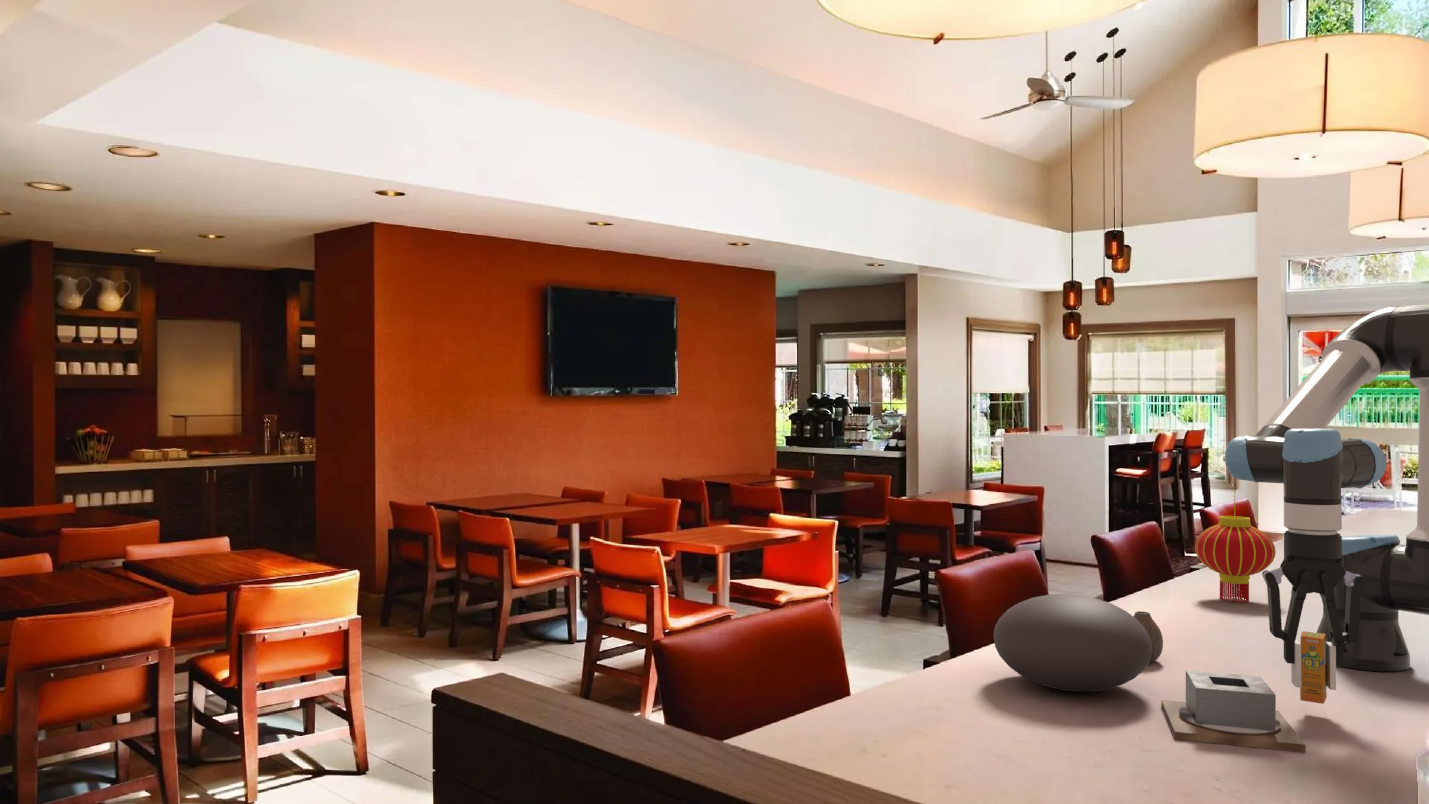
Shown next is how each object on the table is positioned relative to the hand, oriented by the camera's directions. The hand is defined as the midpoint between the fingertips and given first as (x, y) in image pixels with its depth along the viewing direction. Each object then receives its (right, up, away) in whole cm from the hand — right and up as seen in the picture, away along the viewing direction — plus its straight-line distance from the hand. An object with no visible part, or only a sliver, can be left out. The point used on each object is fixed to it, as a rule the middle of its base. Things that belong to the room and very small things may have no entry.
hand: (1313, 685), depth 151 cm
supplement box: (0, -2, 0) cm, 2 cm away
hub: (-16, -4, -7) cm, 18 cm away
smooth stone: (-32, -4, +14) cm, 35 cm away
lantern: (+35, -5, +91) cm, 98 cm away
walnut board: (-16, -4, -7) cm, 18 cm away
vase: (-12, -5, +32) cm, 34 cm away
